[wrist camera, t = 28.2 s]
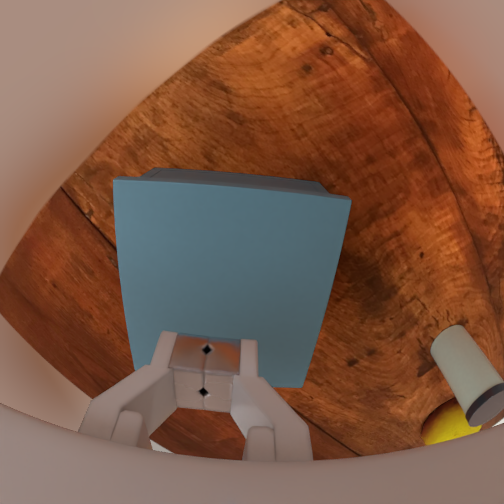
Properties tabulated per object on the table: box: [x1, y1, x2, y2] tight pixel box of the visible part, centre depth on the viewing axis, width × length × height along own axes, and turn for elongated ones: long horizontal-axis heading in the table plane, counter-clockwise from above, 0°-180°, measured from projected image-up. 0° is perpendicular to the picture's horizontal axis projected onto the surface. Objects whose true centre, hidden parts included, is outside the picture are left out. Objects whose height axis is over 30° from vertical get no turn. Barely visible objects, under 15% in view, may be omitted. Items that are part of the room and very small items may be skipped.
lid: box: [113, 176, 352, 388], centre depth 19 cm, size 14×13×1 cm
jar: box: [430, 325, 504, 427], centre depth 26 cm, size 6×6×11 cm
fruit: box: [421, 398, 482, 446], centre depth 35 cm, size 11×10×8 cm
